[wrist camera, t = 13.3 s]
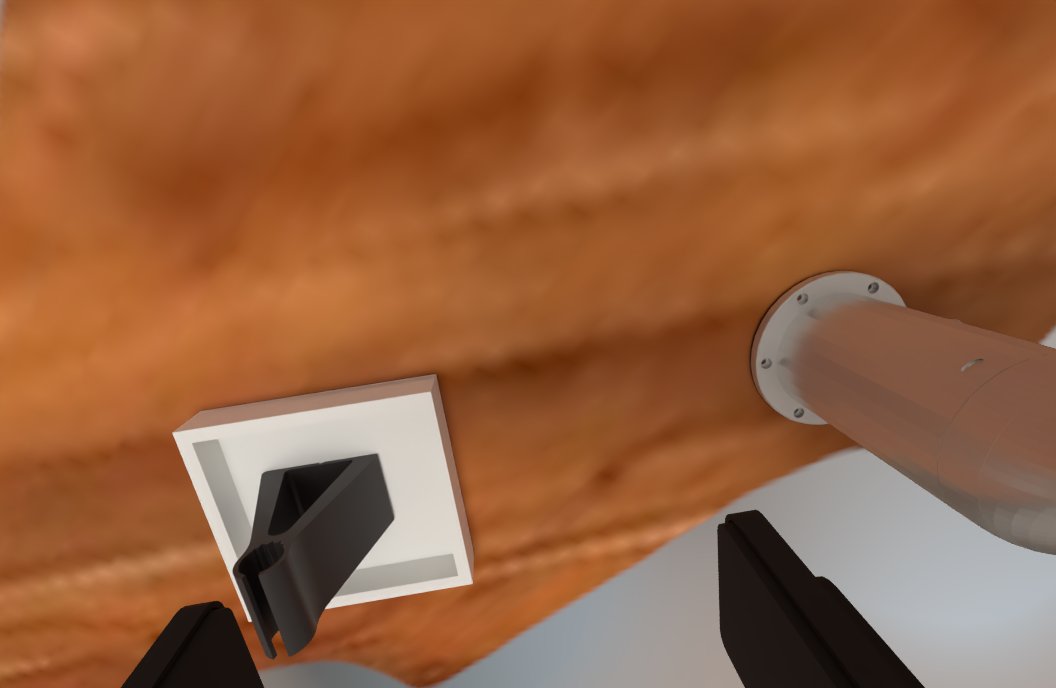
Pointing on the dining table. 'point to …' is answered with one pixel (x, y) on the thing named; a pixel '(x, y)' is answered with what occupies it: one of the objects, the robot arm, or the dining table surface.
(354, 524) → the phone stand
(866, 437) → the robot arm
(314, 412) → the tray
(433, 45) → the dining table surface
